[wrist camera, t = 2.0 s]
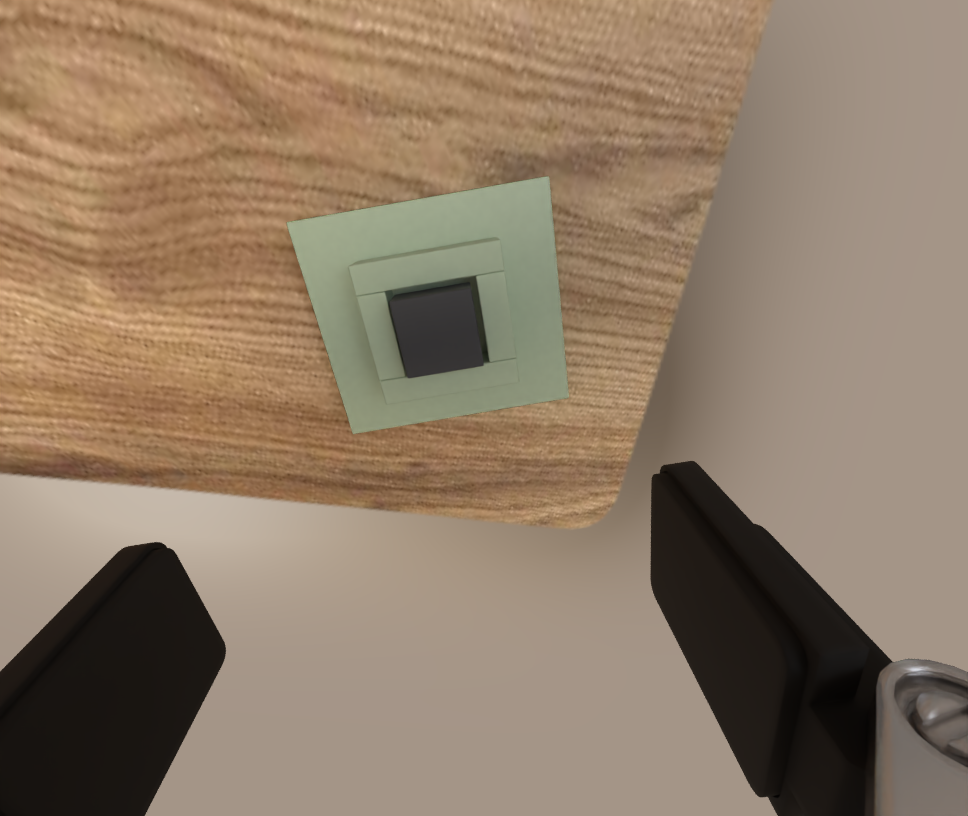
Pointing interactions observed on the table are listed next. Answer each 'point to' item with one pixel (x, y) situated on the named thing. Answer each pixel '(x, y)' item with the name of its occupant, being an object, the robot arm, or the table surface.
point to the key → (437, 330)
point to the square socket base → (430, 264)
